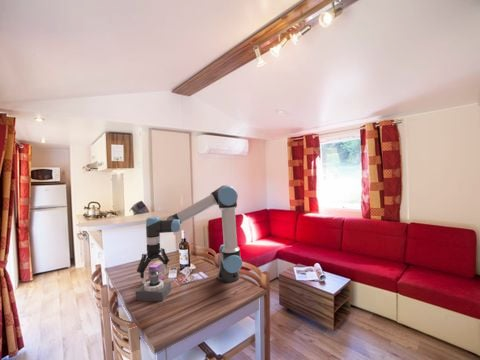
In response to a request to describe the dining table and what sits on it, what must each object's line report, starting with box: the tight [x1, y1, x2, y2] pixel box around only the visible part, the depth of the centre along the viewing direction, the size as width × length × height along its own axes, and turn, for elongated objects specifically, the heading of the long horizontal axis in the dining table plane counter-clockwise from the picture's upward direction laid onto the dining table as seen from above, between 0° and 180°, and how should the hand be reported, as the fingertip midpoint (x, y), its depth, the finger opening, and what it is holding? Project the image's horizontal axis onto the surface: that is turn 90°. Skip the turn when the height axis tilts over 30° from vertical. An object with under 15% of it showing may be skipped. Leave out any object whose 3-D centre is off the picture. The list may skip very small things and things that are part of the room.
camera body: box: [135, 279, 172, 302], centre depth 135 cm, size 16×12×7 cm
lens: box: [150, 270, 159, 286], centre depth 135 cm, size 5×5×9 cm
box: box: [148, 260, 165, 281], centre depth 154 cm, size 10×6×12 cm, turn 168°
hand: (154, 278), depth 135 cm, fingers open, 13 cm apart
